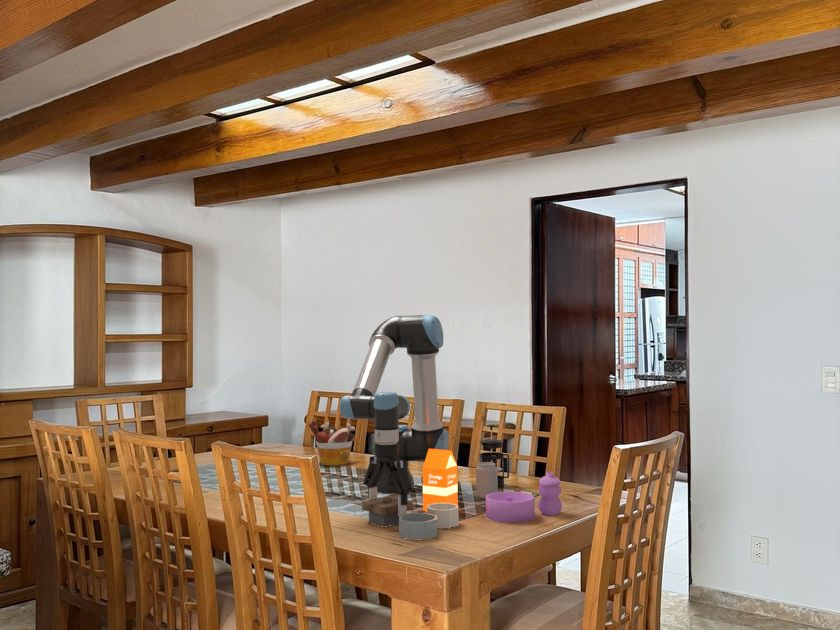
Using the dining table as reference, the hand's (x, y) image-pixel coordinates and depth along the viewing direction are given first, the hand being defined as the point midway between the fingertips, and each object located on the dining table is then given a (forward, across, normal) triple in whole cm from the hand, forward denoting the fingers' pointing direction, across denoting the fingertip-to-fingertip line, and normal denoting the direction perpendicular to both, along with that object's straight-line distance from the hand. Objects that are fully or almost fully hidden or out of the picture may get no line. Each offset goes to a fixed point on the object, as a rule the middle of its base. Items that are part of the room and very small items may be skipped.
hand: (387, 512), depth 238 cm
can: (+3, -1, +47) cm, 47 cm away
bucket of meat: (+3, -94, +50) cm, 107 cm away
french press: (+3, -12, +63) cm, 64 cm away
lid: (-1, 0, 0) cm, 1 cm away
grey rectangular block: (+3, 0, 0) cm, 3 cm away
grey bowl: (+3, +17, -3) cm, 18 cm away
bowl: (+3, +14, +10) cm, 17 cm away
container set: (+4, +25, +36) cm, 44 cm away
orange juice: (+4, +1, +22) cm, 22 cm away
